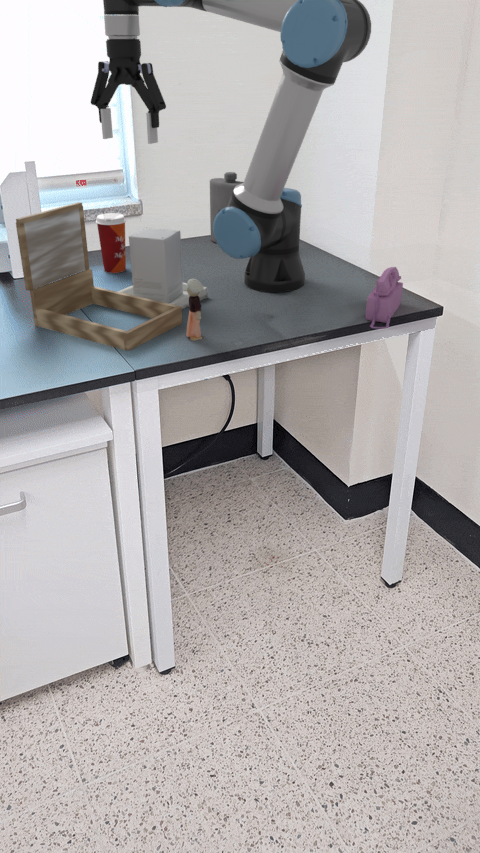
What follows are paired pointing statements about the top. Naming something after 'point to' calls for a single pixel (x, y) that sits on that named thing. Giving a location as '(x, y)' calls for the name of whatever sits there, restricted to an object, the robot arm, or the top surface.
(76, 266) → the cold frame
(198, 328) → the grandmother figurine
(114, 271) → the paper cup
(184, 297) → the tray
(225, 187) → the flask
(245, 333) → the top surface
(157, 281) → the supplement box
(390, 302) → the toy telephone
